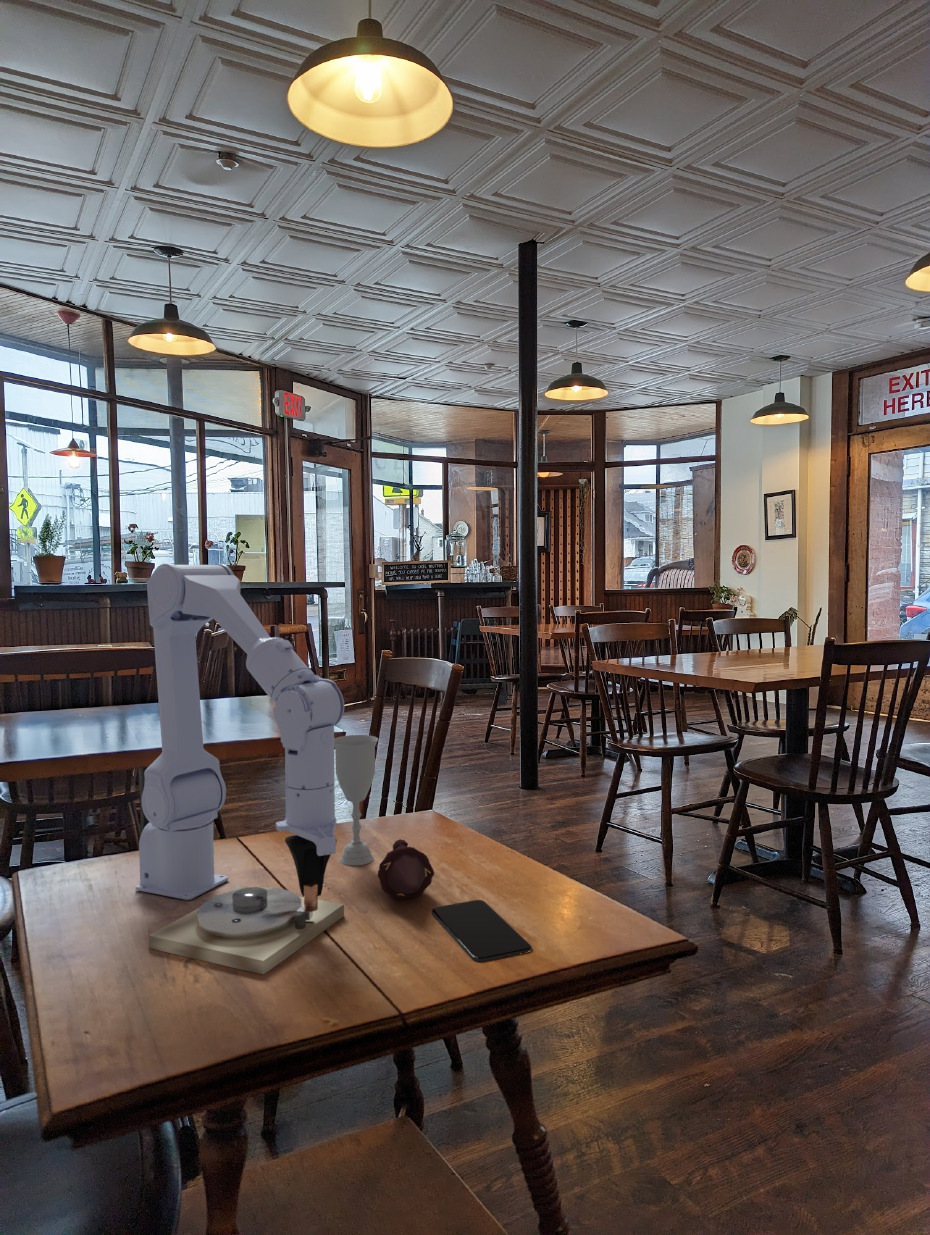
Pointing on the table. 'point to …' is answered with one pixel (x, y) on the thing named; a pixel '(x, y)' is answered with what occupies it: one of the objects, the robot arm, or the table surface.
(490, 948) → the smartphone
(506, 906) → the table surface
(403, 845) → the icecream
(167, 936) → the post base
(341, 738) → the chalice
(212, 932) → the grey turntable
